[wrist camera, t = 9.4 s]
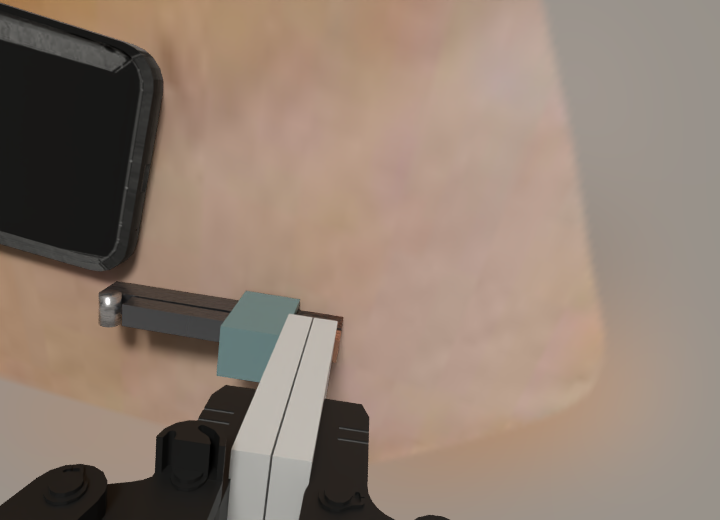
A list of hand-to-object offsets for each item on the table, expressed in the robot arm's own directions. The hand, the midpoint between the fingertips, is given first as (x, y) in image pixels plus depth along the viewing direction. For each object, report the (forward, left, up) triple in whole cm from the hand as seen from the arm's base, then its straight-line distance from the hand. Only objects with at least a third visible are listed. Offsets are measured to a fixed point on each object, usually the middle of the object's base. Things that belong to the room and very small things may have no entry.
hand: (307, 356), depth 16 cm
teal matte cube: (-1, -2, -3) cm, 3 cm away
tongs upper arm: (-1, -3, -2) cm, 4 cm away
